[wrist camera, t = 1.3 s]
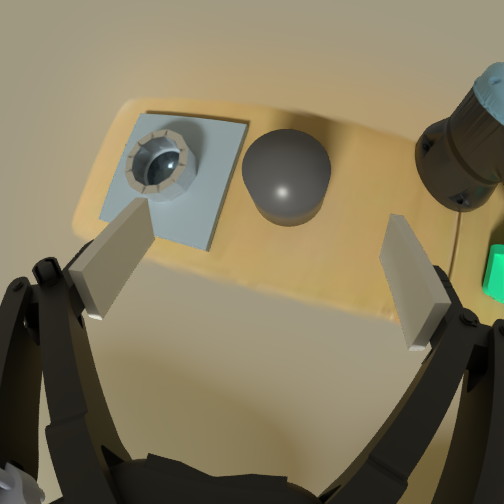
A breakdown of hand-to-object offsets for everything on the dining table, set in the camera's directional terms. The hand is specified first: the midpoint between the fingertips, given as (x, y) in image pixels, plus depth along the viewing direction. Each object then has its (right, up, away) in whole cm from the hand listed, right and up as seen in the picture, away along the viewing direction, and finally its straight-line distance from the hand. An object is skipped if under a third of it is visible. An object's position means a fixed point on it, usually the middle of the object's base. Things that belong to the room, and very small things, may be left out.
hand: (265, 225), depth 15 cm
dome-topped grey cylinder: (+5, +6, +26) cm, 27 cm away
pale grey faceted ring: (-14, +11, +28) cm, 33 cm away
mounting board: (-14, +11, +29) cm, 34 cm away
